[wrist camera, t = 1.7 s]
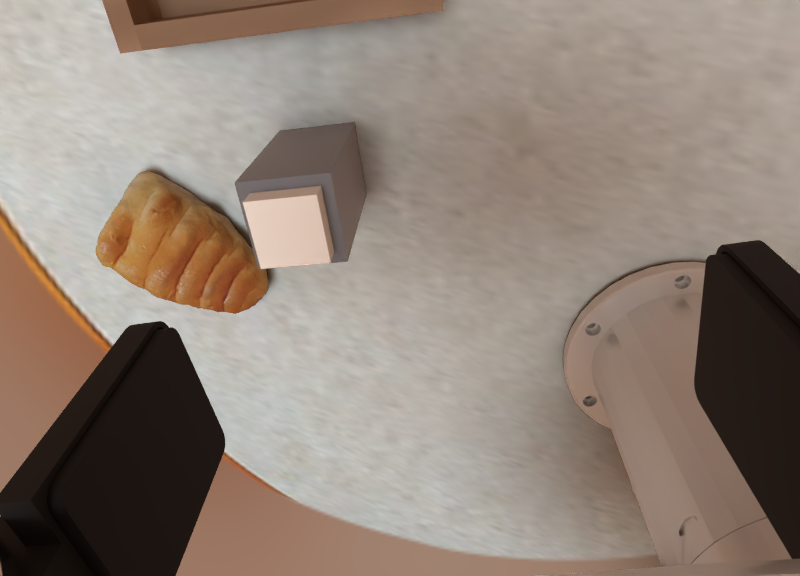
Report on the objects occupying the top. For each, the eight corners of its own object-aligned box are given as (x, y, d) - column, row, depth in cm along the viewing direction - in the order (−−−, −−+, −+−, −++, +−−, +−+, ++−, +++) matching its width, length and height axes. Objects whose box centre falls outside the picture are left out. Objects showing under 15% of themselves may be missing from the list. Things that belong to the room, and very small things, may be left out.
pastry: (294, 244, 34) (279, 276, 31) (245, 322, 37) (227, 359, 34) (144, 156, 32) (110, 180, 29) (105, 247, 35) (70, 278, 32)
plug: (366, 194, 32) (344, 272, 24) (295, 201, 33) (252, 280, 25) (354, 122, 30) (326, 181, 22) (279, 130, 31) (226, 191, 23)
